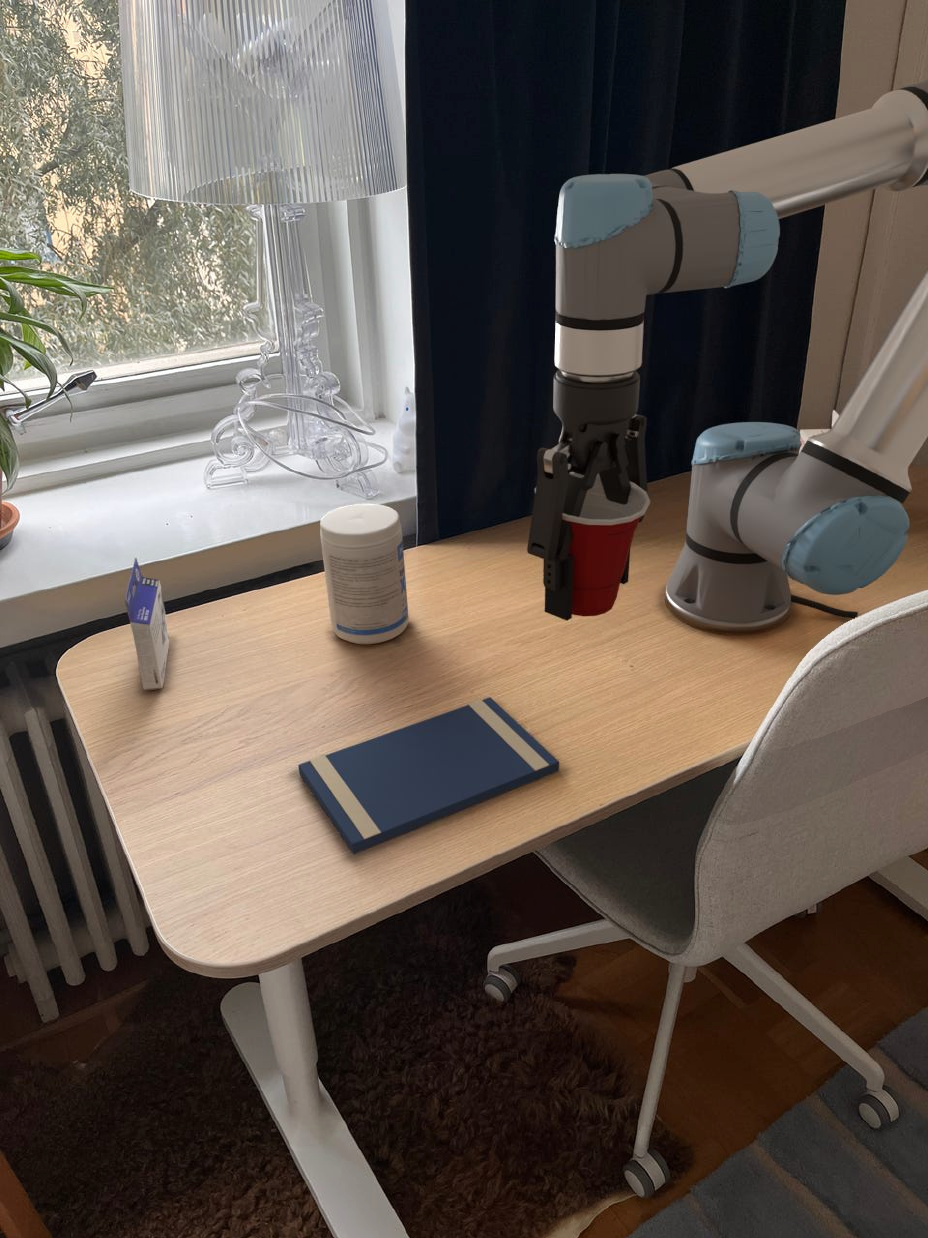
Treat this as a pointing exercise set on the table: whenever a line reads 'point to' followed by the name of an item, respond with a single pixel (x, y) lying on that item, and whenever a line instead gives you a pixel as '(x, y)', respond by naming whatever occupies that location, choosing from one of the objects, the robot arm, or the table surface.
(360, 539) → the supplement tub
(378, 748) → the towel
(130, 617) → the ink box
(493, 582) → the table surface
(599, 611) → the plastic cup
